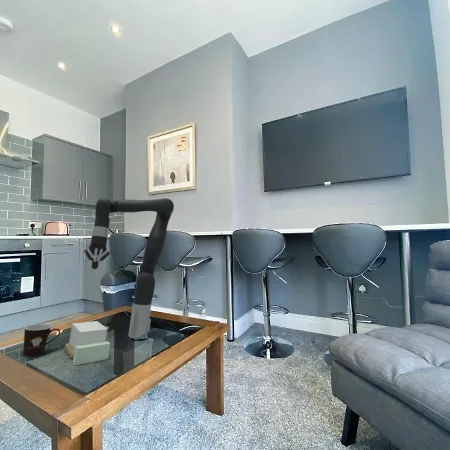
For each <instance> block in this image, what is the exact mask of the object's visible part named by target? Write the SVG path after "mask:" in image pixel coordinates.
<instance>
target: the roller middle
mask: <svg viewBox="0 0 450 450" xmlns="http://www.w3.org/2000/svg"><path fill="white" fill-rule="evenodd" d="M72 349H73V348H72V347H71V346H67V350H66V355H69V351H70V350H72Z"/></svg>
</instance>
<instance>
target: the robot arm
mask: <svg viewBox="0 0 450 450" xmlns="http://www.w3.org/2000/svg"><path fill="white" fill-rule="evenodd" d="M174 210H175V204H174V202H173V201H172V200H171V198H169V197H168V198H166V197H165V198H157V199H123V198H122V199H118V200H110V199H109V198H107V197H101V198H99V199H98V200H97V201H96V205H95V219H94V224H93V228H92V232H91V239H90V244H89V246H88V248H86V249H84V250H83V253H84V254H85V256H86V257H87V259H88V261H91V267H90V268H91V269H92V270H97V269H98V268H99V264H100V262H103V261H104V260H105V259H106V258H107V257H108V256H110V254H111V252H110V251H108V248H107V244H108V238H109V227H110V221H111V219H110V214H115V213H140V212H156V215H155V219H154V220H155V221H154V223H153V225H152V228H151V230H150V232H149V234H148V237H147V241H146V245H145V249H144V253H143V258H142V263H141V266H140V269H139V271H138V273H137V276H136V279H135V285H136V287H135V292H134V297H133V301H132V307H131V308H132V309H131V315H130V323H129V330H128V335H127V337H128V336H129V337H130V338H135V337H139V336H142V335H144V334H146V333H147V332H149V333H150V329H151V320H152V319H151V318H150V316H151V308H152V302H153V299H154V293H155V286H156V279H155V277H154V275H155V270H156V265H157V263H158V261H159V259H160V257H161V254H162V252H163V250H164V246H165V242H166V237H167V231H168V226H169V223H170V222H169V221H170V219H171V216H172V214H173V212H174Z"/></svg>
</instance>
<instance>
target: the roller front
mask: <svg viewBox="0 0 450 450" xmlns="http://www.w3.org/2000/svg"><path fill="white" fill-rule="evenodd" d="M73 357H74V349H72V350H70V351H69V354H68V358H69V359H73Z"/></svg>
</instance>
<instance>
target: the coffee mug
mask: <svg viewBox="0 0 450 450" xmlns="http://www.w3.org/2000/svg"><path fill="white" fill-rule="evenodd" d="M51 328H52V325H50V324H45V323H39V324H37V323H36V324H30V325H28V326H27V325H26V326H25V327H24V335H23V352H22V355H23V356H24V357H36V356H40V355H42V354H43V353H44V350H45V348H46V346H47V345H48V344H50V343H51V342H53V341H55V340H56V339H57V338H58V337H59V336H60V335H61V330H60V329H59V328H53V329H51ZM54 331H57V332H58V334H57V335H56V336H55V337H54V338H52V339H51V340H49V341H48V338H49V335H50V334H51V333H52V332H54Z"/></svg>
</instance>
